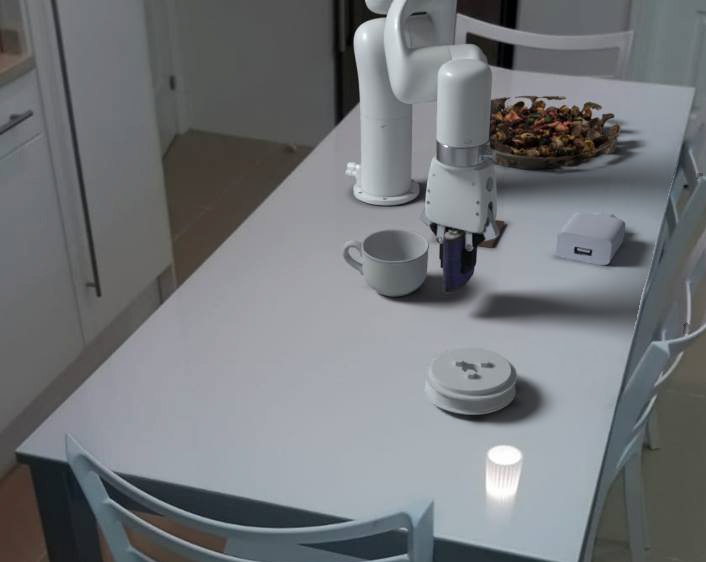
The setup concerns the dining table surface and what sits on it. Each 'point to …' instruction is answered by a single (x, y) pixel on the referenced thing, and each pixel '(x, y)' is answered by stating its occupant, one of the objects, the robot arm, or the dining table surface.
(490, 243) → the board
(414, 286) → the teacup
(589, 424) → the dining table surface
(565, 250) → the charger
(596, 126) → the food dish
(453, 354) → the lid
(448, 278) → the dark blue piece
